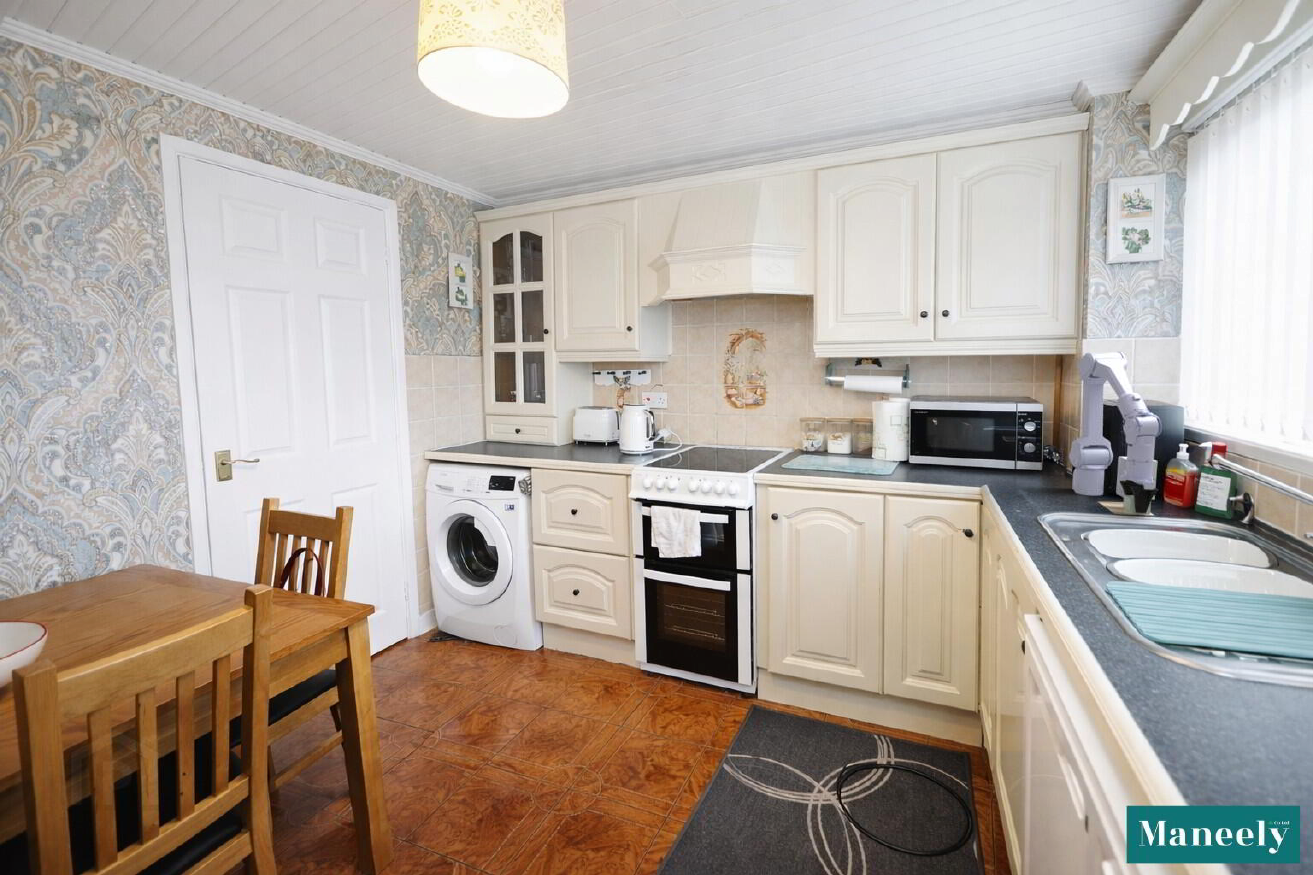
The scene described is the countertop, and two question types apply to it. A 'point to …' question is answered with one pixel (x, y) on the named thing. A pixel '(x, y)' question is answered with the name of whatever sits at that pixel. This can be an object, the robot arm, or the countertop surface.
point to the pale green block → (1132, 505)
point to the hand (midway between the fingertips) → (1136, 509)
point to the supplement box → (1121, 469)
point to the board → (1118, 508)
